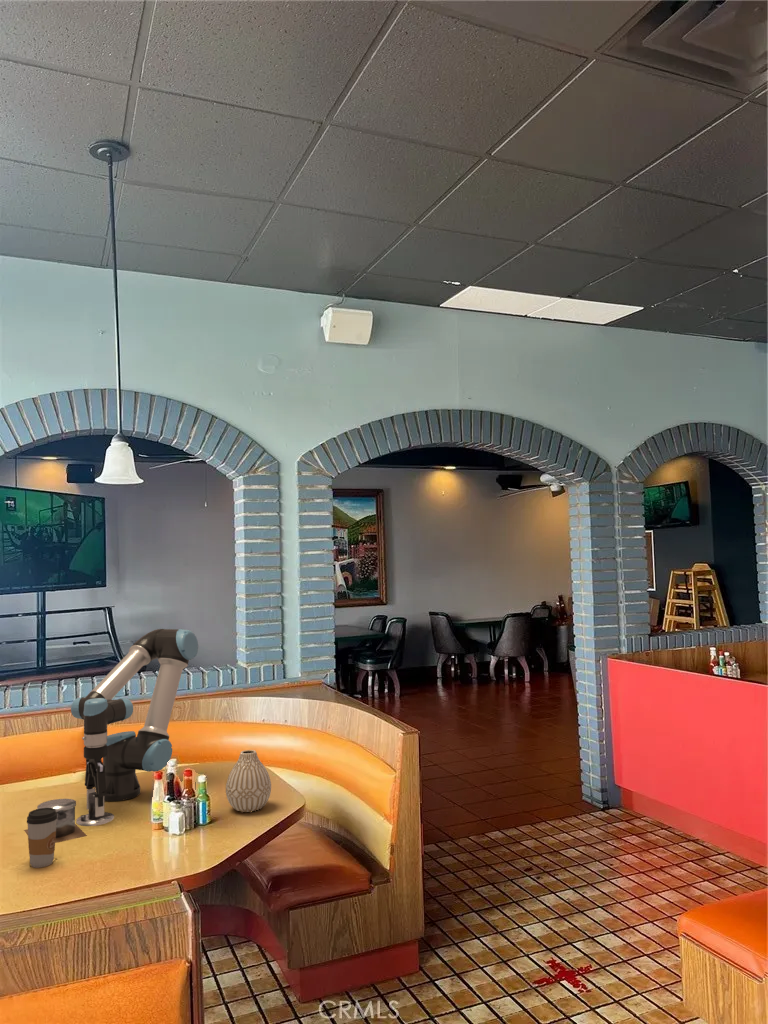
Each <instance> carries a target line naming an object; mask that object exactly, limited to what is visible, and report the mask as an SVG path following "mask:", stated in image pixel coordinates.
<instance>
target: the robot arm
mask: <svg viewBox="0 0 768 1024" xmlns="http://www.w3.org/2000/svg"><path fill="white" fill-rule="evenodd" d="M198 651H199V640H198V638H197V635H196V634H195V632H194V631H191V629H190V630H189V629H183V628H179V629H175V628H173V629H171V628H169V629H168V628H157V629H154V630H151V631H149V632H148V633H146V634H145V635H142V636H140V638H139V639H138V640H136V641H135V642H134V643H133V644H132V645H131V646H130V647H129V648H128V653H127V654H126V655H125V656H124V657H123V658H122V659H121V660H120V661H119V662H118V663H117V664H116V665H115V666H114V667H113V668H112V669H111V670H110V671H109V673H107V674H106V676H104V678H103V679H102V680H100V682H99V683H98V684H97V685H96V686H94V688H93V689H91V691H89V693H88V694H87V695H86V696H85V697H84V696H80V697H77V698H75V699H74V700H73V701H72V703H71V706H70V712H71V715H72V716H73V718H75V719H78V720H83V736H82V738H81V739H82V740H83V746H84V747H83V758H84V759H85V762H86V763H85V765H86V766H85V778H84V786H85V788H86V810H88V795H89V794H90V793H93V792H96V795H95V796H94V798H95V817H99V816H103V815H104V812H105V802H119V801H120V802H121V801H126V800H129V799H134V798H136V797H138V796H140V795H141V785H140V783H139V779H138V776H137V772H136V771H144V772H148V773H149V772H150V773H151V772H160V771H161V770H163V769H164V768H166V767H167V765H168V764H167V762H168V761H169V760H171V757H172V754H173V745H172V742H171V741H170V735H169V733H168V727H169V723H170V719H171V717H172V716H171V715H172V711H173V708H174V705H175V700H176V698H177V693H178V688H179V685H180V681H181V676H182V674H183V670H184V669H185V668H188V665H189V662H190V661H192V660H194V659H195V657H197V655H198ZM154 660H157V661H158V663H159V665H160V667H159V670H158V674H157V677H156V680H155V685H154V689H153V691H152V695H151V698H150V703H149V707H148V710H147V714H146V718H145V721H144V725H143V727H142V728H140V729H139V730H138V732H137V734H136V732H135V731H134V730H130V731H129V730H127V731H121V732H120V731H119V732H116V733H112V734H109V735H108V725H111V724H115V723H118V722H123V721H125V720H127V719H129V718H131V716H133V713H134V705H133V702H132V701H131V699H129V698H126V697H123V698H118V699H114V697H115V696H117V694H119V692H120V691H121V690H122V689H123V688H124V687H125V686H126V685H127V683H128V682H129V681H131V679H132V678H133V677H134V676H135V675H136V674H137V673H138V672H139V671H140V670H141V669H142V668H143V667H144V666H147V665H149V663H151V661H154ZM169 762H170V761H169ZM169 762H168V763H169Z"/></svg>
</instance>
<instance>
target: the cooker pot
mask: <svg viewBox="0 0 768 1024" xmlns="http://www.w3.org/2000/svg"><path fill="white" fill-rule="evenodd" d="M76 805H77V800H75V799H72V798H58V799H57V798H56V799H55V798H54V799H49V800H46V801H43V802H41V803H39V804H38V805H37V808H36V809H40V808H54V809H55V810H56V813H57V821H56V838H60V837H64V836H67V835H70V834H72V833H73V832H74V831H75V824H76Z"/></svg>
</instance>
